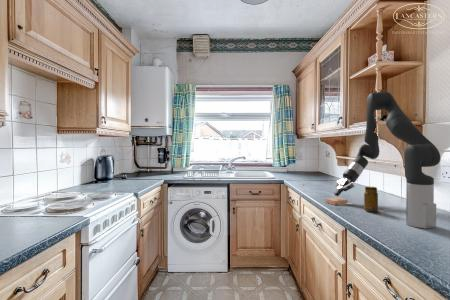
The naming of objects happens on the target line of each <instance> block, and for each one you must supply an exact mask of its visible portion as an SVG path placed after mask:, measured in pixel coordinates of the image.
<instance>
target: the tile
mask: <svg viewBox="0 0 450 300" xmlns="http://www.w3.org/2000/svg"><path fill="white" fill-rule="evenodd" d="M324 202H325V203H326V204H330V205H334V206H336V205H337V206H340V205H339V204H346V205H348V204H347V202H348V199H345V198H343V197H330V198H328V197H327V198H325V201H324Z"/></svg>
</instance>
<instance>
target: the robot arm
mask: <svg viewBox="0 0 450 300" xmlns="http://www.w3.org/2000/svg"><path fill="white" fill-rule="evenodd" d="M383 110H386V111H387V112H388V115H387V117H386V120H385V125H386V127H387V129H388V130H389V132H390V133H391V134H392V135H393V136H394V137H395V138H397V139H399V140H400V141H402V142H404V143H406V144H408V145H407V146H406V148H405V150H404V154H403V161H404V177H405V179H406V185H405V186H406V189H405V190H406V191H405V193H406V194H405V196H406V197H405V199H406V201H405V221H406V222H405V224H406V225H408V226H411V227H414V228H419V229H420V228H421V229H426V230H427V229H434V228H437V203H435V202H434V200H435V199H434V198H435V196H434V195H435V179H434V176H431V175H428V174H426V173H424V172H423V169H422V168H430V167H435V166H437V165H439V163H440V161H441V153H440V151H439V150H438V148H437V146H436V145H435V144H434V143H432V141H430V140H429V139H428V138H427V137H426V136H425V135H424V134H423V133H422V132H421V131H420V130H419V128H417V126H415V124H414V123H413V122H412V120H411V119H410V118H409V116H407V114H406V113H405V112H404V111H403V110H402V108H401V107H400V106H399V104H398V103H397V100H396V99H395V98H394V96H393V94H391V92H389V91H377V92H371V93H369V95H368V96H367V99H366V112H365V113H366V117H365V118H366V127H365V132H364V142H365V143H364V144H362V145H360V147H359V148H358V149H359V150H358V152H357V155H356V157H355V158H354V160H353V161H352V162H351V163H350V165H349V166H348V167H347V168H346V170H345V171H344V172H343V173H342V177H341V178H340V179H339V180H338V179H336V180H335V184H334V185H335V188H336V189H335V191H334V192H333V194H334V196H336V197H339V196H340V195H341V194H342V193H343V192H347V191H349V190H351V189H352V188H354V187H355V185H354V183H355V182H356V181H357V180H358V178H359V177H360V176H361V175H362V173H363V172H364V170H365V169H366V167H367V166H368V164H369V161H368V159H371V160H376V159H377V158H378V157H379V156H380V147H379V138H380V137H379V138H378V136H377V134H376V133H374V131H375V128H376V122H377V120H376V117H375V111H383ZM367 158H368V159H367Z"/></svg>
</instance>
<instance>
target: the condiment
mask: <svg viewBox="0 0 450 300" xmlns="http://www.w3.org/2000/svg"><path fill="white" fill-rule="evenodd" d="M363 209H364V212H365V213H372V214H377V215H378V214H383V213H384V212H385V211H383V210H379V193H378V188H377V187H376V186H365V188H364V193H363ZM378 211H379V212H378Z"/></svg>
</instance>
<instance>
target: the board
mask: <svg viewBox="0 0 450 300" xmlns="http://www.w3.org/2000/svg"><path fill="white" fill-rule="evenodd" d="M352 204H353V203H351V202H349V201H347V204H339V205H338V206H344V205H352Z"/></svg>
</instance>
